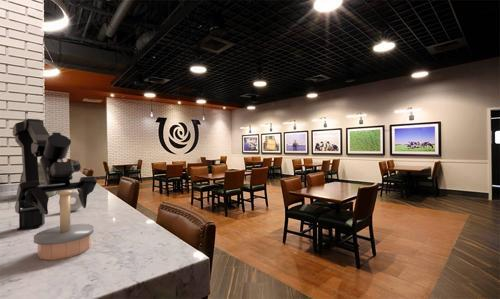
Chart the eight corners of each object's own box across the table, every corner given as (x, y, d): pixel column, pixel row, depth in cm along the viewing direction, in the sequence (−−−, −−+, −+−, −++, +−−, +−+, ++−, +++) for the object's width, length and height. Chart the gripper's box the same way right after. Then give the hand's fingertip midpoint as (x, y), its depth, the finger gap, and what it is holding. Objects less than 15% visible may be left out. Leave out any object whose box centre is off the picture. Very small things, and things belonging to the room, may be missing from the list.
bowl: (33, 252, 72) (33, 236, 72) (81, 240, 82) (80, 226, 81) (46, 264, 65) (45, 246, 65) (96, 249, 74) (96, 234, 74)
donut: (59, 213, 114) (59, 192, 114) (58, 212, 117) (58, 191, 117) (85, 210, 121) (85, 189, 121) (83, 208, 124) (83, 188, 124)
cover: (19, 242, 67) (19, 194, 67) (65, 226, 81) (65, 186, 81) (64, 246, 65) (64, 196, 65) (104, 228, 79) (104, 187, 79)
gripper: (18, 152, 68) (29, 198, 61) (94, 151, 83) (109, 188, 76) (12, 179, 73) (22, 224, 66) (85, 173, 88) (98, 210, 81)
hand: (66, 210), depth 72 cm, fingers open, 9 cm apart
